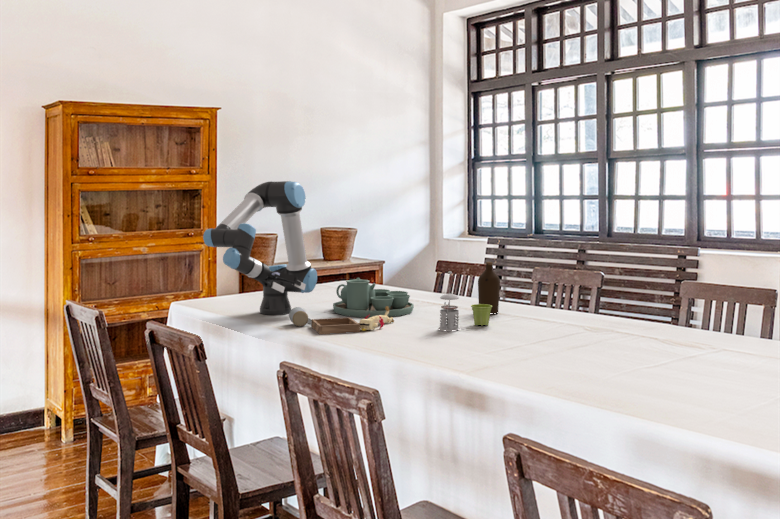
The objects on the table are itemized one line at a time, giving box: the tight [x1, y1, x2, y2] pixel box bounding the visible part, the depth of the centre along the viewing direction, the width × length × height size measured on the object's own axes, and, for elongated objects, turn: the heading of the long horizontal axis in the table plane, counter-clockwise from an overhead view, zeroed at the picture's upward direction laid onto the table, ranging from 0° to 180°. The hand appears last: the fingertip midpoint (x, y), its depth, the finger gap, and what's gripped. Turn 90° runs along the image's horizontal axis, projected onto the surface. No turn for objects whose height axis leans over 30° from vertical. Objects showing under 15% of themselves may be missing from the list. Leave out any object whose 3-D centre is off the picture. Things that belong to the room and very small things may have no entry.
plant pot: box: [470, 303, 492, 326], centre depth 302 cm, size 9×9×9 cm
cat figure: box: [358, 306, 395, 331], centre depth 298 cm, size 10×9×25 cm
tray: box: [311, 316, 361, 335], centre depth 291 cm, size 17×17×3 cm
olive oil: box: [477, 261, 501, 313], centre depth 333 cm, size 11×11×25 cm
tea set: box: [332, 277, 414, 318], centre depth 339 cm, size 40×40×16 cm
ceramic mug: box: [288, 306, 312, 327], centre depth 300 cm, size 11×8×8 cm
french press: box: [437, 270, 461, 332], centre depth 290 cm, size 10×12×25 cm
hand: (294, 288), depth 298 cm, fingers open, 13 cm apart
